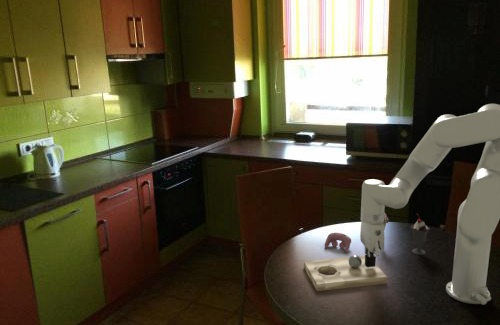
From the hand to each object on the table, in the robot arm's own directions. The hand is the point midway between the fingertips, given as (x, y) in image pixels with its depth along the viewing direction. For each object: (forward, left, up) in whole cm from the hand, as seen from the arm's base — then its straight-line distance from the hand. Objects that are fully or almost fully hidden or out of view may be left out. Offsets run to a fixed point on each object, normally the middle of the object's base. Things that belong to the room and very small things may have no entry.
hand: (369, 265), depth 152 cm
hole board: (+1, +9, -3) cm, 10 cm away
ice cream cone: (+20, -13, -4) cm, 24 cm away
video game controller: (+22, +4, -4) cm, 23 cm away
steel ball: (+1, +5, +1) cm, 5 cm away
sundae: (+12, -25, -4) cm, 28 cm away
